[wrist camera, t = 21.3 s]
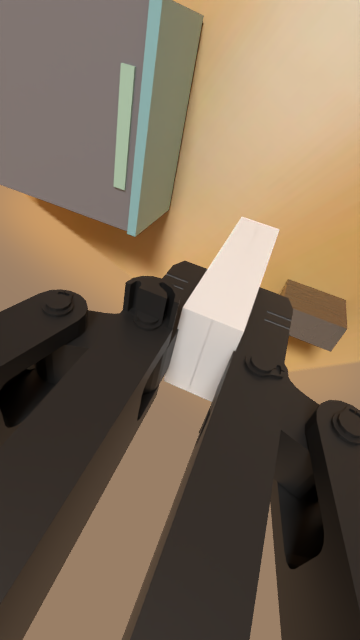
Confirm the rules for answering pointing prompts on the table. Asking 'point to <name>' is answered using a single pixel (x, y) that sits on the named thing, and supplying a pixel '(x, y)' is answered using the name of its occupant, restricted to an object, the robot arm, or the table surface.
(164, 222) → the table surface
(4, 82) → the housing
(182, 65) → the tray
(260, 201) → the table surface
